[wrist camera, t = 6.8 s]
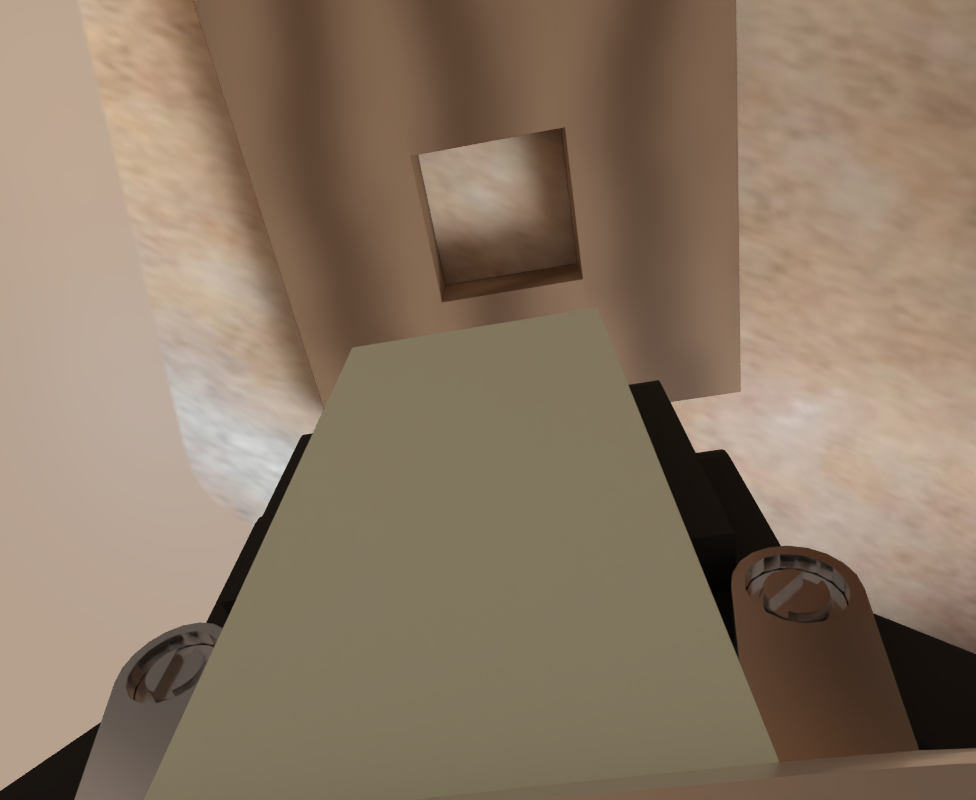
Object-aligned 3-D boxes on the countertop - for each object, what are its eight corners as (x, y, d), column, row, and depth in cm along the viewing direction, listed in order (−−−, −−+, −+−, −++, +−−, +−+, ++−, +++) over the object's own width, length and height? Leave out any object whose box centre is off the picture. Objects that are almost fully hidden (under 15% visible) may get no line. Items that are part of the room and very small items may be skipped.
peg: (597, 307, 12) (897, 1057, 3) (619, 510, 14) (841, 1323, 5) (352, 347, 12) (-3, 1120, 3) (407, 540, 14) (270, 1348, 5)
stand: (714, -101, 26) (734, -114, 24) (725, 369, 35) (740, 391, 33) (217, 4, 28) (193, 1, 26) (347, 426, 37) (337, 451, 35)
